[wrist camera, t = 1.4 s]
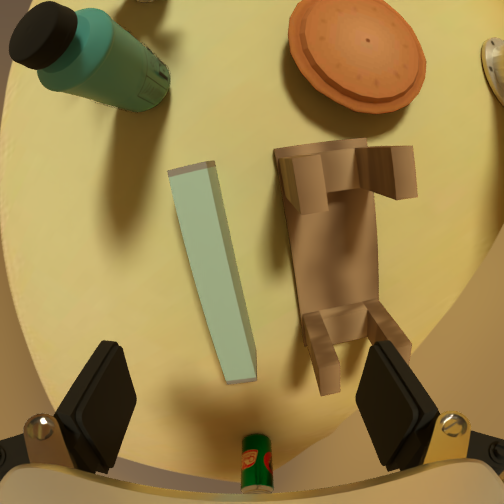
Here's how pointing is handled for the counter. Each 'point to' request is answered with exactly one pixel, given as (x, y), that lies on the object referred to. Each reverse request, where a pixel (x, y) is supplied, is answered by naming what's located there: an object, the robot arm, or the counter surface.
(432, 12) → the counter surface
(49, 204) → the counter surface
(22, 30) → the beverage bottle
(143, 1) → the house plant
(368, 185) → the post stand
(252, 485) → the soda can
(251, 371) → the rail
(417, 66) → the pie
